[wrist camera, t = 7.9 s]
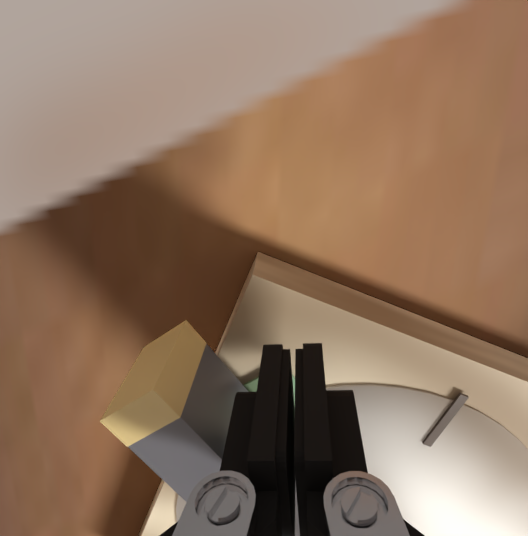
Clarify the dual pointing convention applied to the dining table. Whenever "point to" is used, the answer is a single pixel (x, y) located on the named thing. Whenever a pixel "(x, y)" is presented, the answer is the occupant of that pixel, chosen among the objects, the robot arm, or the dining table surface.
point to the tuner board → (395, 399)
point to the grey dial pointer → (177, 409)
